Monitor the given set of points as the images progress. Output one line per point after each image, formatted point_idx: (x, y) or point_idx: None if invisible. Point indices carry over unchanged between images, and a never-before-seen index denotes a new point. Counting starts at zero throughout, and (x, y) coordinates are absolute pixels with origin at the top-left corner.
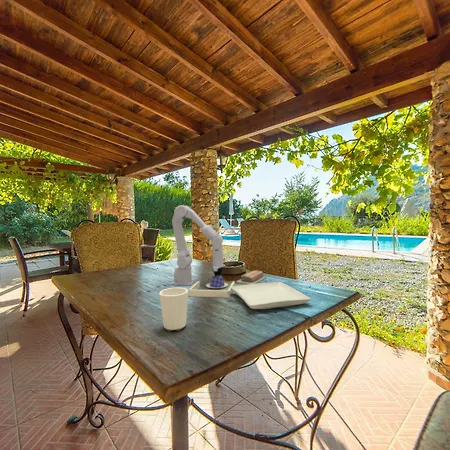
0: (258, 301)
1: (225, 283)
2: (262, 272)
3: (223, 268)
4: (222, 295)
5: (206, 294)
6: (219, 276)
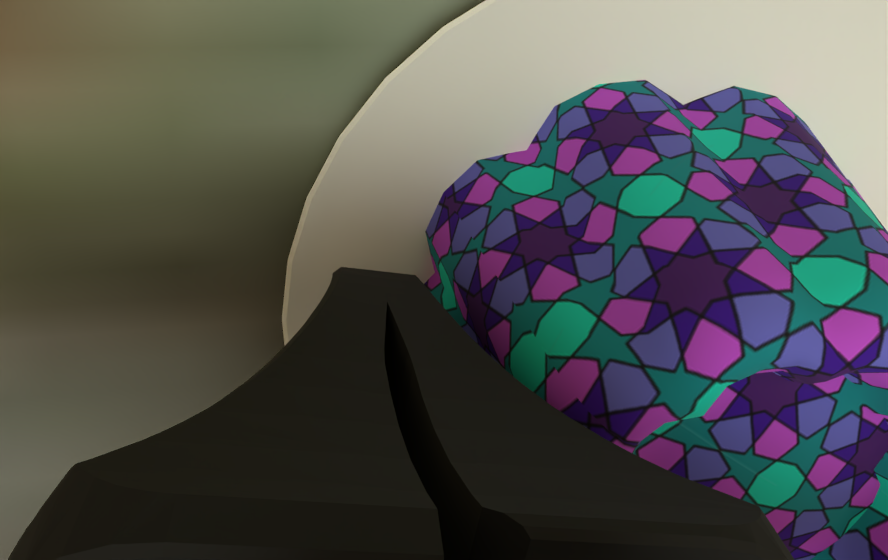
0: None
1: (496, 50)
2: None
3: (203, 519)
4: None
5: None
6: (676, 416)
